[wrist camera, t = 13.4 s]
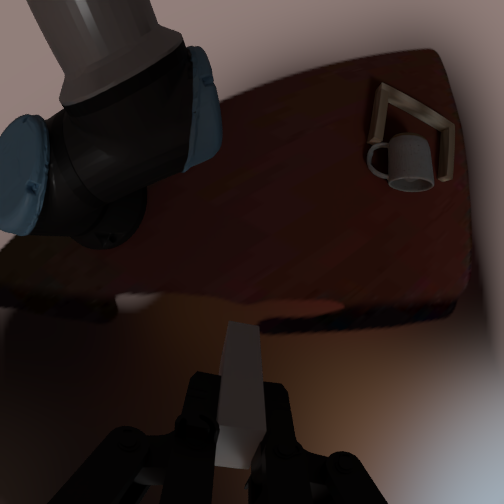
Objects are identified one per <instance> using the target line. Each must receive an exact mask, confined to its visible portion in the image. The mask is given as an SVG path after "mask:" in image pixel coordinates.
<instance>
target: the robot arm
mask: <svg viewBox="0 0 504 504" xmlns="http://www.w3.org/2000/svg"><path fill="white" fill-rule="evenodd" d="M27 2H28V5H29V7H30V9H31V11H32V13H33V15H34V17H35V19H36V21H37V23H38V25H39V27H40V29H41V31H42V33H43V35H44V37H45V39H46V41H47V43H48V44H49V46H50V48H51V50H52V52H53V54H54V55H55V57H56V59H57V61H58V63H59V65H60V66H61V68H62V70H63V72H64V73H65V79H64V83H63V86H62V89H61V93H60V97H59V101H60V102H61V104H62V106H63V107H64V109H62V110H61V111H59V112H58V113H56V114H55V115H54V116H52V117H51V118H49V119H48V120H44V119H43V118H42V117H41V116H39V115H29V114H26V115H23V116H20V117H18V118H16V119H15V120H14V121H13V122H12V123H11V124H9V126H8V127H7V128H6V129H5V130H4V132H3V133H2V135H1V136H0V230H2V231H4V232H8V233H13V234H17V235H19V236H25V235H42V236H70V237H71V238H72V239H74V240H75V241H76V242H78V243H79V244H81V245H82V246H84V247H87V248H90V249H97V250H101V249H111V248H114V247H117V246H119V245H121V244H123V243H124V242H126V241H127V240H128V239H129V238H130V237H131V236H132V235H133V234H134V233H135V231H136V230H137V229H138V227H139V225H140V223H141V221H142V219H143V216H144V213H145V210H146V204H147V190H146V186H148V185H150V184H153V183H155V182H157V181H160V180H162V179H165V178H167V177H169V176H172V175H174V174H177V173H179V172H182V173H183V172H185V171H187V170H188V169H189V168H190V167H192V166H194V165H197V164H199V163H201V162H204V161H206V160H208V159H210V158H212V157H213V156H214V155H215V154H216V153H217V152H218V151H219V149H220V147H221V144H222V119H221V111H220V105H219V99H218V95H217V90H216V86H215V84H214V83H213V81H214V80H213V76H212V69H211V66H210V62H209V60H208V57H207V55H206V53H205V51H204V50H203V49H202V48H201V47H199V46H196V47H194V46H189V47H186V46H185V43H184V40H183V37H182V35H181V33H179V32H177V31H174V30H171V29H168V28H166V27H163V26H161V25H159V24H158V22H157V20H156V17H155V14H154V11H153V8H152V6H151V3H150V0H27ZM290 409H291V408H290V403H289V397H288V392H287V390H286V389H285V388H284V386H283V385H282V384H280V383H272V382H263V374H262V361H261V347H260V333H259V326H256V325H250V324H244V323H238V322H233V321H229V323H228V329H227V333H226V338H225V343H224V348H223V352H222V357H221V362H220V370H219V375H214V374H209V373H203V372H198V371H197V372H196V373H195V374H194V375H193V376H192V377H191V378H190V382H189V385H188V390H187V393H186V397H185V402H184V406H183V410H182V414H181V415H180V416H178V418H177V419H176V421H175V430H174V431H172V432H171V433H169V434H166V435H159V436H146V435H145V434H144V433H143V432H142V431H140V430H139V429H137V428H134V427H130V426H122V427H118V428H115V429H114V430H112V431H111V432H110V433H109V434H108V435H107V436H106V438H105V439H104V440H103V441H102V442H101V443H100V444H99V446H98V447H97V448H96V449H95V450H94V451H93V452H92V454H91V455H90V456H89V457H88V458H87V459H86V460H85V462H84V463H83V464H82V465H81V466H80V468H79V469H78V470H77V471H76V472H75V473H74V474H73V475H72V476H71V477H70V479H69V480H68V481H67V482H66V483H65V484H64V485H63V487H62V488H61V489H60V490H59V491H58V492H57V493H56V495H54V497H53V498H52V499H51V500H50V501H49V502H48V503H47V504H139V503H140V501H141V500H142V498H143V497H144V495H145V494H146V492H147V490H148V489H149V487H150V486H151V485H163V489H162V494H161V499H160V503H159V504H211V501H212V488H213V477H214V466H215V465H216V466H222V467H230V468H239V469H249V467H250V465H251V475H250V477H249V479H248V481H247V483H246V484H245V488H244V489H248V504H388V503H387V501H386V500H385V498H384V497H383V495H382V494H381V492H380V491H379V489H378V488H377V486H376V485H375V483H374V482H373V480H372V479H371V477H370V476H369V474H368V472H367V471H366V470H365V468H364V466H363V465H362V463H361V462H360V460H359V459H358V458H357V457H356V456H355V455H353V454H351V453H349V452H344V451H340V452H335V453H333V454H331V455H330V456H329V457H326V456H322V455H317V454H314V453H311V452H308V451H306V450H305V449H303V447H302V446H301V444H299V443H298V442H297V440H296V437H295V432H294V426H293V420H292V414H291V411H290Z"/></svg>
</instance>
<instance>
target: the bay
mask: <svg viewBox="0 0 504 504" xmlns="http://www.w3.org/2000/svg"><path fill="white" fill-rule="evenodd" d="M388 102H389V103H391V104H392V105H394V106H396V107H398V108H400V109H402V110H404V111H406V112H408V113H409V114H411V115H413V116H415V117H417V118H418V119H420V120H422V121H424V122H425V123H427V124H429V125H430V126H432V127H433V128H435V129H437V130H438V131H440V132H441V139H440V155H439V167H438V177H437V179H439V180H440V181H442V182H444V181H447V180H451V179H453V166H454V147H455V125H454V124H453V123H451V122H450V121H448V120H447V119H446V118H444V117H442V116H441V115H439V114H438V113H436V112H435V111H433V110H431V109H430V108H428V107H427V106H425V105H423V104H422V103H420V102H418V101H416V100H415V99H413V98H411V97H409V96H408V95H406V94H404V93H402V92H400V91H398V90H396V89H394V88H392V87H390V86H388V85H386V84H384V83H381V84H380V86H379V87H378V88H377V89H376V91H375V98H374V105H373V112H372V118H371V124H370V129H369V135H368V140H367V143H368V144H370V145H374V144H377V143H380V142H381V141H383V135H384V128H385V121H386V114H387V106H388Z"/></svg>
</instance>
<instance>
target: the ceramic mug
mask: <svg viewBox="0 0 504 504" xmlns="http://www.w3.org/2000/svg"><path fill="white" fill-rule="evenodd" d="M377 148H388V174H384V173H381V172H379V171H377V170H376V169H375V168H374V167H373V166H372V165H371V158H372V155H373V151H374V150H375V149H377ZM367 165H368V168H369V169H370V171H371V172H372V173H373V174H375V175H376V176H378V177H381V178H384V179H387V180H388V184H389V186H391V187H392V188H394V189H397V190H401V191H408V192H420V191H425V190H429V189H431V188H432V187H433V186H434V177H433V168H432V161H431V153H430V148H429V145H428V142H427V140H426V139H425V138H424V137H423V136H421V135H419V134H415V133H399V134H396V135H395V136H393V137H392V138H391V139H390V141H389V143H384V142H382V143H377V144H374V145H373V146H372V147H371V148H370V149H369V151H368V154H367Z"/></svg>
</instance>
